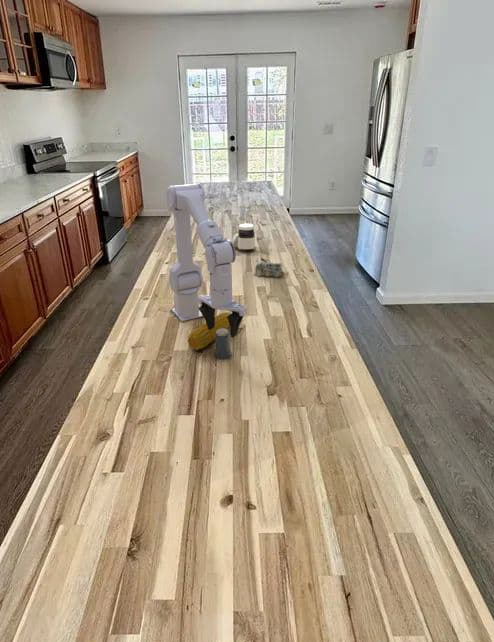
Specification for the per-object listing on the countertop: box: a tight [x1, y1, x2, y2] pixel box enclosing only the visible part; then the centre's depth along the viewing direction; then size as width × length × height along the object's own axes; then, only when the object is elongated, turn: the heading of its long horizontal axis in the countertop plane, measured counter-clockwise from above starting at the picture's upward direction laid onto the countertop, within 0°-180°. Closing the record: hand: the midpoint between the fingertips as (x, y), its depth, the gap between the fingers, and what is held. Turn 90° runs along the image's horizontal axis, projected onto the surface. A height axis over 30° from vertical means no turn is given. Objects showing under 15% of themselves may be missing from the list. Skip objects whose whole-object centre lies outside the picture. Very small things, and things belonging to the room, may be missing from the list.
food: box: [187, 311, 232, 351], centre depth 131 cm, size 21×6×6 cm, turn 149°
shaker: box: [214, 328, 231, 360], centre depth 121 cm, size 4×4×8 cm
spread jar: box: [230, 222, 256, 253], centre depth 202 cm, size 12×11×12 cm
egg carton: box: [254, 261, 283, 278], centre depth 176 cm, size 11×8×4 cm
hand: (222, 332), depth 120 cm, fingers open, 7 cm apart
